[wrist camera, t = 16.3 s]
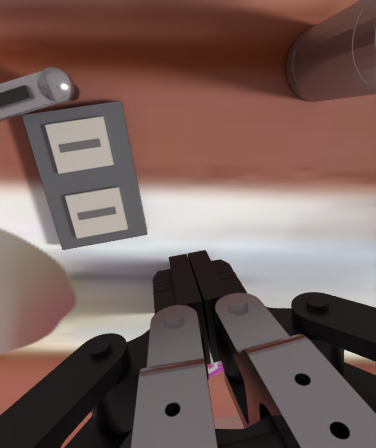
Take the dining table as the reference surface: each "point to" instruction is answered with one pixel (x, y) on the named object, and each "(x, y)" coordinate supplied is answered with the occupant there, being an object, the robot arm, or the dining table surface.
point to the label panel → (87, 173)
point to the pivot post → (75, 93)
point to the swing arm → (34, 92)
